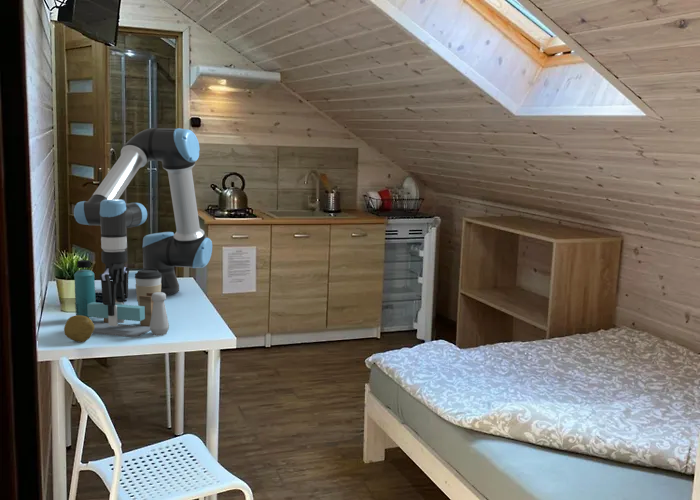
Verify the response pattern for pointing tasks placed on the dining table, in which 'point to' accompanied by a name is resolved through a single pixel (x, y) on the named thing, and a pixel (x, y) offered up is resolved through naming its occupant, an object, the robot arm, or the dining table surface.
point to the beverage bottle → (84, 288)
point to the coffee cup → (147, 282)
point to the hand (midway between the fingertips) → (116, 323)
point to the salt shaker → (159, 315)
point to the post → (146, 308)
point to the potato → (79, 328)
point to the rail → (122, 311)
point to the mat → (120, 329)
